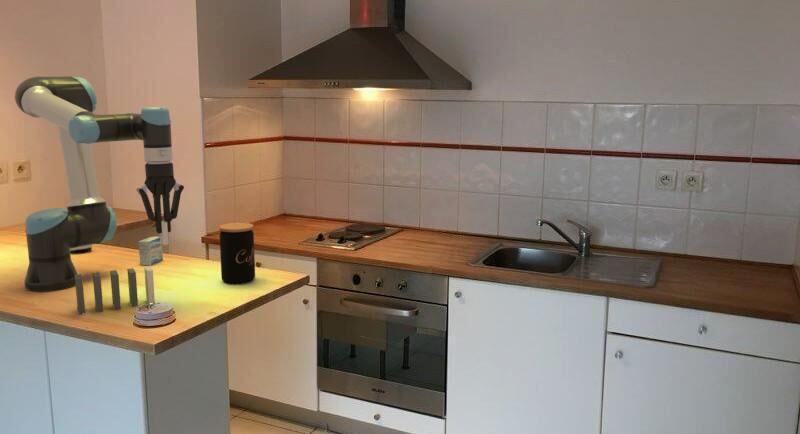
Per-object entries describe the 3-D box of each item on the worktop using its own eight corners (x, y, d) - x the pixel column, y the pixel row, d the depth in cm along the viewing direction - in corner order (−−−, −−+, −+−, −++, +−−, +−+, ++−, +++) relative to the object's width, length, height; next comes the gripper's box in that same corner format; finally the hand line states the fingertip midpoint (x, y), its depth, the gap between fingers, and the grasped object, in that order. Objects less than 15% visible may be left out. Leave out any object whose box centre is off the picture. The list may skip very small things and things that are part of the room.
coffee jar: (238, 287, 217) (236, 230, 214) (214, 281, 223) (211, 226, 219) (262, 279, 226) (260, 224, 222) (238, 274, 231) (236, 221, 228)
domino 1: (79, 314, 191) (75, 279, 189) (77, 309, 195) (74, 274, 193) (85, 313, 192) (82, 278, 190) (83, 308, 196) (80, 274, 194)
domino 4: (132, 307, 197) (129, 273, 196) (129, 302, 202) (127, 268, 200) (138, 306, 198) (135, 272, 196) (135, 301, 203) (133, 268, 201)
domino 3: (114, 309, 195) (112, 275, 193) (112, 304, 200) (110, 270, 198) (120, 308, 196) (118, 274, 194) (118, 303, 200) (116, 270, 198)
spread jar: (95, 251, 261) (93, 221, 258) (64, 257, 252) (61, 225, 250) (82, 246, 269) (79, 216, 266) (51, 251, 260) (48, 221, 258)
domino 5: (149, 304, 200) (146, 271, 198) (146, 299, 204) (144, 266, 202) (155, 303, 200) (152, 270, 198) (152, 299, 205) (150, 266, 203)
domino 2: (97, 311, 193) (94, 277, 191) (95, 306, 197) (92, 272, 196) (103, 311, 194) (100, 276, 192) (101, 306, 198) (98, 272, 196)
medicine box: (151, 266, 241) (149, 241, 240) (139, 265, 242) (137, 241, 240) (163, 260, 249) (161, 236, 247) (151, 259, 250) (150, 236, 248)
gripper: (139, 165, 190) (145, 249, 194) (186, 161, 197) (191, 243, 201) (131, 162, 196) (137, 244, 200) (177, 159, 203) (182, 238, 207)
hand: (164, 243), depth 201 cm, fingers closed
